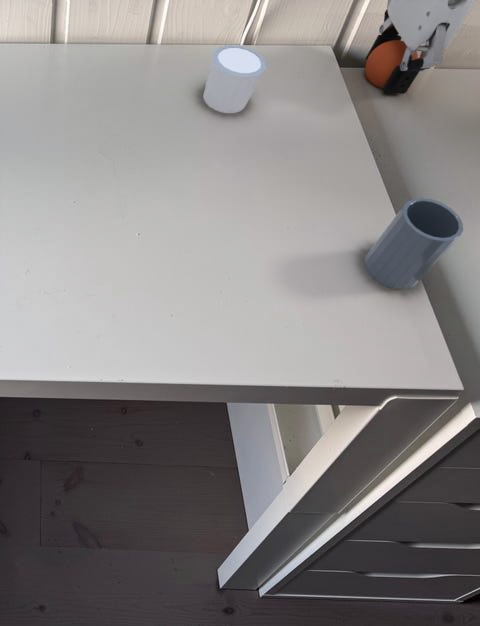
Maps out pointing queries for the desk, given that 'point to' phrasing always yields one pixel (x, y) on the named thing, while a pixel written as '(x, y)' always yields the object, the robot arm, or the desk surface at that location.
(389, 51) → the ball
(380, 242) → the cup
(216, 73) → the white cylinder
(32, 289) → the desk surface
